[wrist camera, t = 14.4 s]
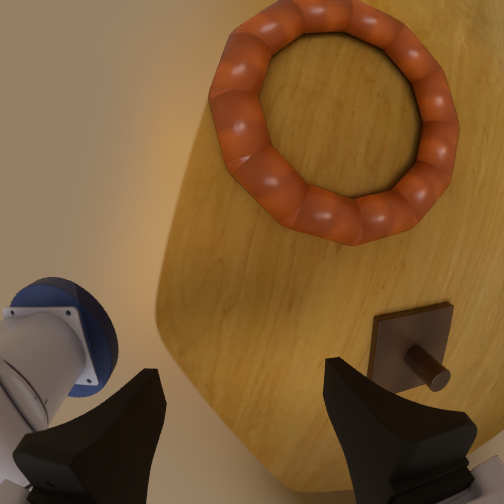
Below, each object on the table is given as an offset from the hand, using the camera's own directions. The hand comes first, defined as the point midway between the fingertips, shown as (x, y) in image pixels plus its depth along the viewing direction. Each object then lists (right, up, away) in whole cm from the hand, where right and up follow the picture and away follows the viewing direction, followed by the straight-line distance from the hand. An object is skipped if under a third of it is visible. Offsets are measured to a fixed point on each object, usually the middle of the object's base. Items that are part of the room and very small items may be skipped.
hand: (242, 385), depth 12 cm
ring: (+7, +15, +6) cm, 18 cm away
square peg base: (+14, -3, +12) cm, 19 cm away
